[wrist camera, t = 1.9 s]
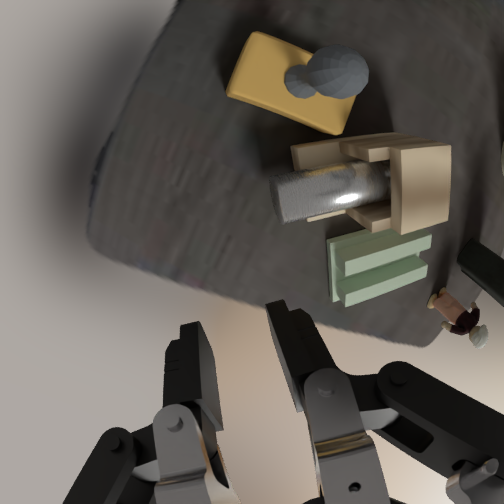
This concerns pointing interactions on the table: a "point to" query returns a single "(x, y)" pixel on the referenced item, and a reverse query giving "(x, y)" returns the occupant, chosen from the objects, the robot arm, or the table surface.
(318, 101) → the rubber stamp
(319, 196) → the axle
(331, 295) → the cradle
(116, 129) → the table surface
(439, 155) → the beige block
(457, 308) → the grandmother figurine
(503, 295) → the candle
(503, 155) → the reusable coffee cup
